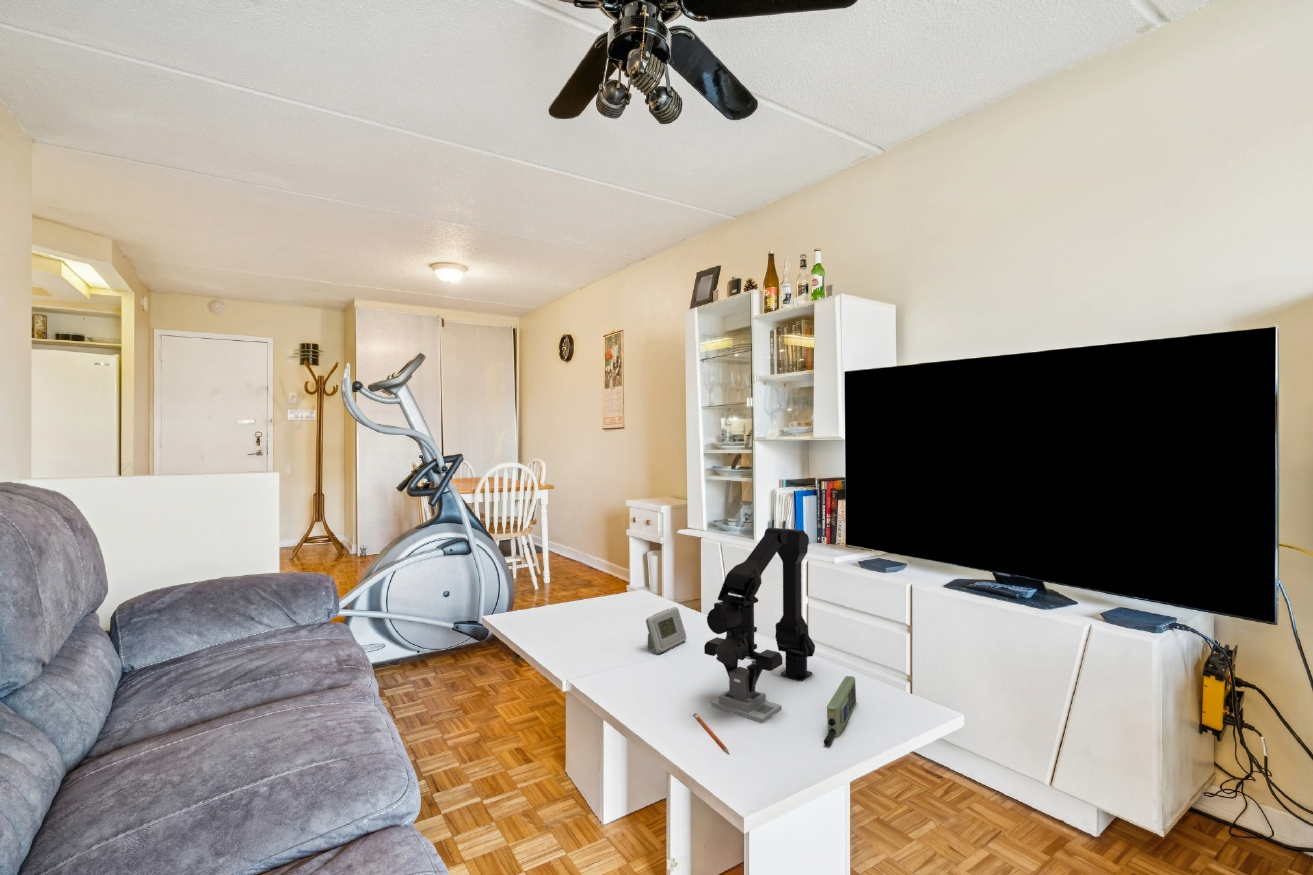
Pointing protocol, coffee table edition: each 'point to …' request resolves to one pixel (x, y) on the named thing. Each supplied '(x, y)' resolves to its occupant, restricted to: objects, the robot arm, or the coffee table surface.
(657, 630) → the digital clock
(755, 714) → the grey charging dock
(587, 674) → the coffee table surface
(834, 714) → the handheld radio
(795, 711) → the coffee table surface
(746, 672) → the block
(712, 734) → the pencil
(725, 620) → the robot arm
